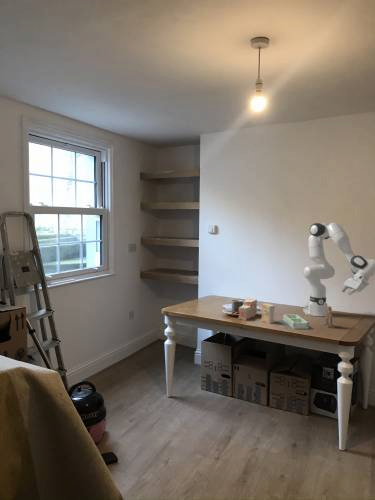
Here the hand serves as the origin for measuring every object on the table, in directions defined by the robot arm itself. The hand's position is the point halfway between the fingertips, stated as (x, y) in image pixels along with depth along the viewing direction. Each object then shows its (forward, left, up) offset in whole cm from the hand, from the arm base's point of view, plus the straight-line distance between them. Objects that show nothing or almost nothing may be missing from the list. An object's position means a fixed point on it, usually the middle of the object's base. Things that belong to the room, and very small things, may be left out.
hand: (345, 292), depth 266 cm
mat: (-6, -33, -24) cm, 41 cm away
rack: (-6, -33, -23) cm, 41 cm away
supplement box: (-12, -51, -24) cm, 58 cm away
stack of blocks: (-28, -62, -24) cm, 72 cm away
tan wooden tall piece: (0, -11, -24) cm, 26 cm away
